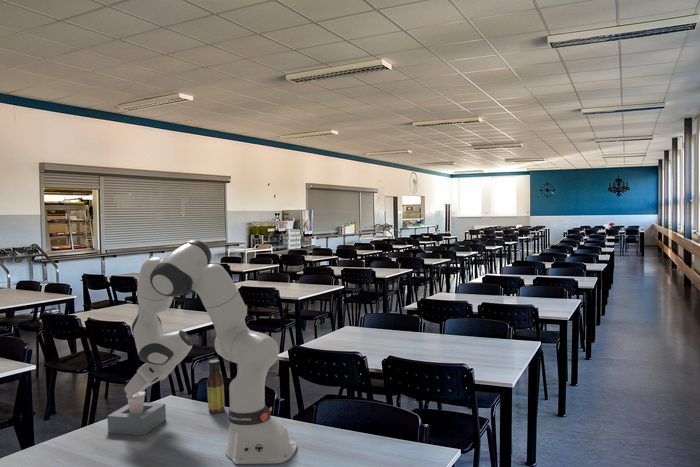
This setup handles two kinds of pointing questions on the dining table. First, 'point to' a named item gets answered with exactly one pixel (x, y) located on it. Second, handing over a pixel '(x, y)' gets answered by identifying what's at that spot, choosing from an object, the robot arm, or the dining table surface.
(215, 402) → the sauce bottle
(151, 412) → the box
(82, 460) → the dining table surface
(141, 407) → the smoothie
